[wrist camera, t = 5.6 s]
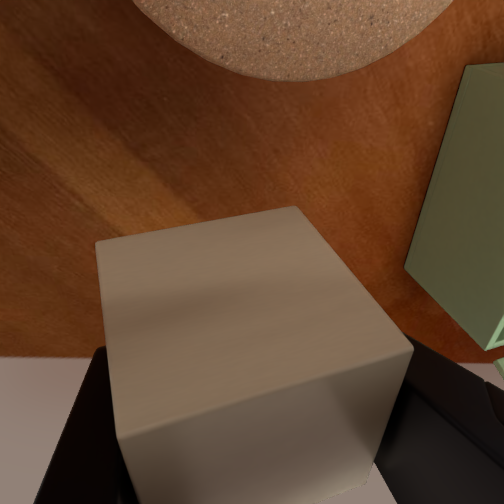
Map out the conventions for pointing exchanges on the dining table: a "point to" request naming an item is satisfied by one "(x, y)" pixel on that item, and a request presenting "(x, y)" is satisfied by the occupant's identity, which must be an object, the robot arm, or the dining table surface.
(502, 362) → the flap
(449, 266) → the carton
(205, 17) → the trinket box
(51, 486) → the robot arm
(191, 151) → the dining table surface
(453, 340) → the dining table surface
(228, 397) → the block
